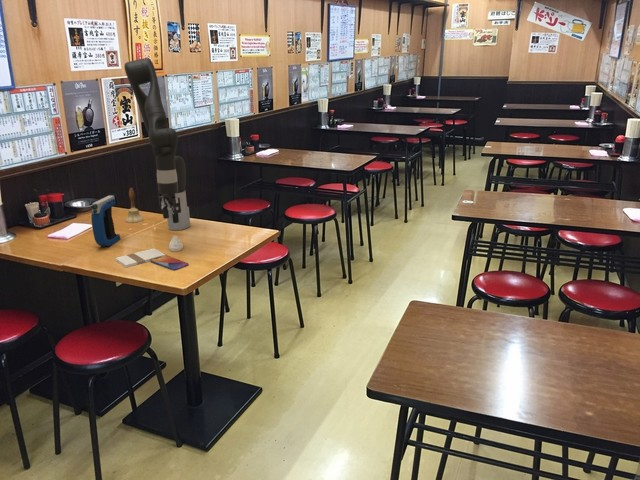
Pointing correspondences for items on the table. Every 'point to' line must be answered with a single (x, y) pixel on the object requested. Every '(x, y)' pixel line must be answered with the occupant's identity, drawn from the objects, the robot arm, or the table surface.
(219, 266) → the table surface
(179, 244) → the garlic bulb
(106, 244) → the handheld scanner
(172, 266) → the smartphone
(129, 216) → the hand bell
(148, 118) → the robot arm
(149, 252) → the white panel
